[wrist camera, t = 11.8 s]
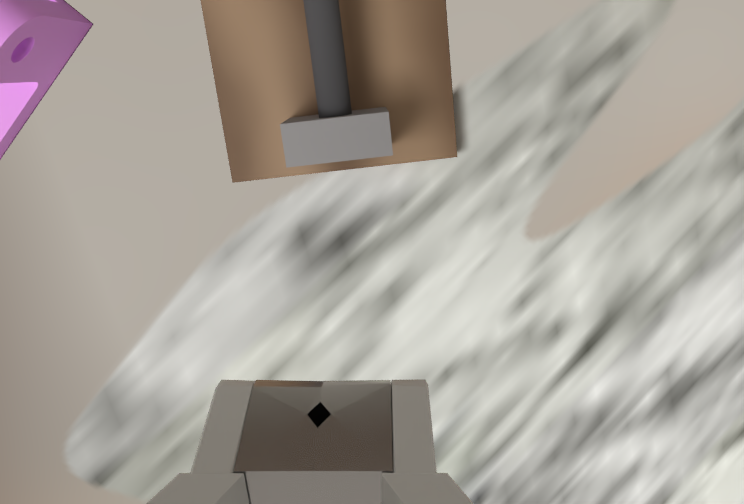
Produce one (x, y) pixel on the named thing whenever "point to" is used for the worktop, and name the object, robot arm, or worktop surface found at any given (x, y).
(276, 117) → the board
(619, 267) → the worktop surface
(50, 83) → the bracket
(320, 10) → the dark grey bar
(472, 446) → the worktop surface
